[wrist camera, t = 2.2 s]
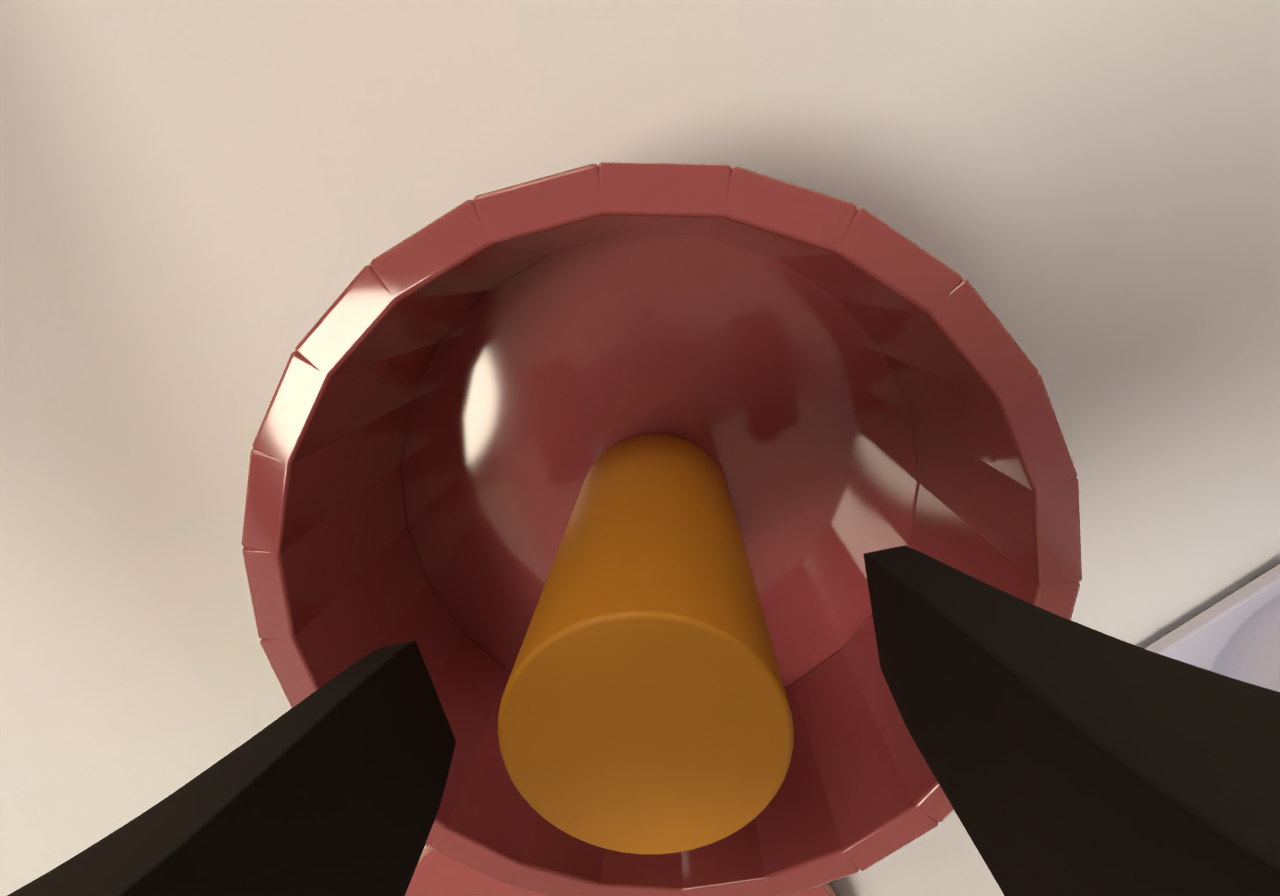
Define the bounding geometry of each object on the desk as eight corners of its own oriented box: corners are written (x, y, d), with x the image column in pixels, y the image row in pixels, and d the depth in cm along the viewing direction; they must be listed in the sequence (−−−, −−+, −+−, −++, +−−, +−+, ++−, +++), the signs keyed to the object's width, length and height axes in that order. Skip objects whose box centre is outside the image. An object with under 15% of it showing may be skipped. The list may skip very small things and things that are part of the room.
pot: (1052, 513, 15) (1250, 639, 10) (645, 802, 19) (637, 1008, 13) (670, 50, 13) (673, -99, 7) (275, 484, 16) (87, 588, 11)
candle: (760, 508, 15) (857, 755, 7) (651, 597, 16) (639, 900, 8) (658, 401, 14) (650, 552, 7) (550, 500, 15) (435, 733, 8)
